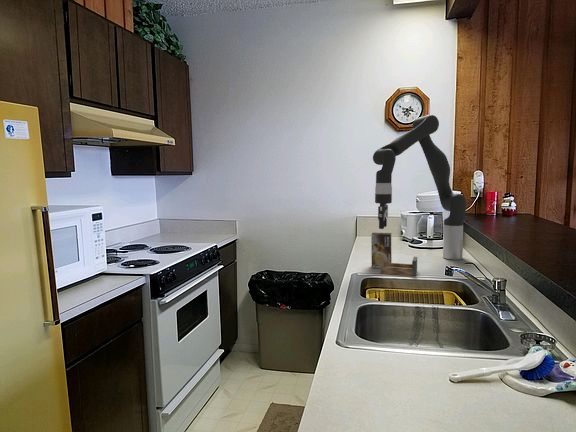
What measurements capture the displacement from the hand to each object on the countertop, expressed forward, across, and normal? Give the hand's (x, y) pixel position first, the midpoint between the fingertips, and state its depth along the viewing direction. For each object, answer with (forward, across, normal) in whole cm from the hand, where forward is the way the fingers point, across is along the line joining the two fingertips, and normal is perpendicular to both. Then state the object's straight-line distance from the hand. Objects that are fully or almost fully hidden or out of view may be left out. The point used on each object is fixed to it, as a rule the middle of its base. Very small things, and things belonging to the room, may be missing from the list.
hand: (382, 227), depth 188 cm
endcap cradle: (+19, -8, -9) cm, 22 cm away
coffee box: (+19, 0, 0) cm, 19 cm away
